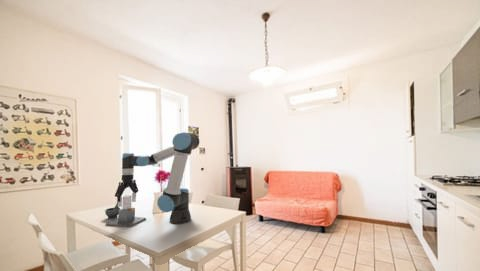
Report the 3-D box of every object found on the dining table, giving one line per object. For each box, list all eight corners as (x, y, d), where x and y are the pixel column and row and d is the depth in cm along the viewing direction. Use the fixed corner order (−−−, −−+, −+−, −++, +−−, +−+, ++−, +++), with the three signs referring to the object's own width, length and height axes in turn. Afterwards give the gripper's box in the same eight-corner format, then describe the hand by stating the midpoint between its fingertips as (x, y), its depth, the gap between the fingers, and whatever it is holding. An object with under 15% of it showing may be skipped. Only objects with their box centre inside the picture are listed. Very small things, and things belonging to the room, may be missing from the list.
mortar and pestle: (110, 221, 156) (110, 204, 157) (102, 219, 160) (102, 203, 161) (124, 216, 166) (124, 201, 167) (116, 215, 170) (116, 200, 171)
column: (131, 219, 154) (131, 195, 155) (126, 221, 150) (127, 196, 151) (125, 218, 155) (126, 195, 156) (121, 220, 151) (121, 196, 152)
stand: (146, 219, 158) (146, 205, 158) (130, 227, 142) (130, 211, 143) (123, 218, 162) (123, 204, 163) (105, 225, 147) (106, 210, 147)
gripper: (135, 172, 167) (134, 199, 166) (109, 176, 143) (108, 208, 142) (143, 172, 166) (143, 200, 164) (118, 176, 142) (117, 208, 140)
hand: (127, 204), depth 153 cm, fingers open, 13 cm apart
